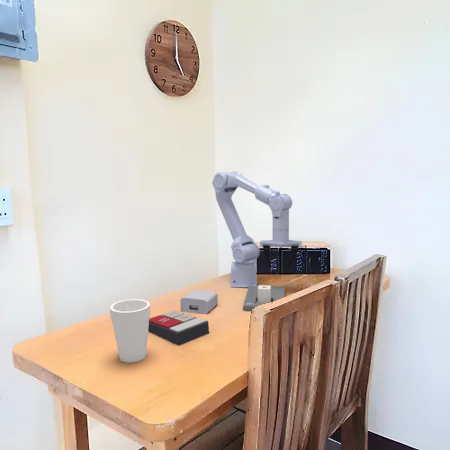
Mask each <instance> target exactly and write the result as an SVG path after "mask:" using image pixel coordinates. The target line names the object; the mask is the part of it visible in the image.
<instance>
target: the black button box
mask: <svg viewBox="0 0 450 450" xmlns="http://www.w3.org/2000/svg"><path fill="white" fill-rule="evenodd" d="M209 328H210V327H209V321H208V320H207V319H204V318H201V317H200V318H199V317H197V316H195V315H192V314H189V313H185V312H183V311H178V310H171V311H168V312H164V313H162V314H160V315H155V316H153V317H149V327H148V333H151V334H152V335H155V336H157V337H159V338H162V339H165V340H167V341H168V342H170V343H172V344H174V345H176V346H182V345H184V344H186V343H187V344H188V343H189V342H192V341H194V340H197V339H198V338H201V337H204V336H206V335H208V334H210V329H209Z"/></svg>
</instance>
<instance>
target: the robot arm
mask: <svg viewBox="0 0 450 450" xmlns="http://www.w3.org/2000/svg"><path fill="white" fill-rule="evenodd" d="M211 184H212V186H213V189H214V192H215V199H216V203H217V204H218V207H219V209H220V212H221V214H222V216H223V219H224V221H225V223H226V225H227V229H228V230H229V233H230V235H231V238H232V240H233V241H232V243H231V245H230V248H231V251H232V257H233V260H234V261H231V266H230V282H231V283H230V287H231V288H248V287H249V286H258V283H259V281H258V280H257V267H256V266H257V259H258V258H259V256H260V248H262V251H263V252H264V255H265V257H266V260H267V264H268V268H271V267H272V262H271V248H272V247H273V248H275V247H277V248H278V247H279V248H281V247H282V248H283V247H284V248H288V247H289V248H290V251H291V252H290V255H291V256H290V268H293V267H294V262H295V258H296V256H297V254H298V252H299V248H302V243H303V242H302V240H293V239H292V240H290V209H291V208H292V206H293V199H292V197H291V196H290V195H288V194H287V193H280V191H279V190H274V189H273V188H270V185H269V184H261V185H258V184H257V183H255V182H253V180H250V179H248V178H247V177H245V176H244V175H243V174H242V173H238V171H228V172H227V171H225V172H222V171H219V172H216V173H215V174H214V176H213V179H212V183H211ZM238 188H241V189H243V190H246V191H247V192H249V193H251V194H254V197H255V199H256V200H257V201H260V202H261V203H263V204H265V205H267V206H268V208H269V209H270V210H271V215H272V228H271V229H272V239H269V240H265V239H264V240H259V246H258V244H257V243H256V242H255V241H254V239H253V238H252V237H251V236H249V234H247V232H246V229H245V227H244V225H243V223H242V220H241V218H240V216H239V213H238V211H237V208H236V206H235V204H234V202H233V200H232V197H233V195H234V194H235V192H236V191H237V189H238Z"/></svg>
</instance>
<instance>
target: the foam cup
mask: <svg viewBox="0 0 450 450" xmlns="http://www.w3.org/2000/svg"><path fill="white" fill-rule="evenodd" d="M109 315H110V319H111V322H112V328H113V333H114V338H115V342H116V343H115V344H116V347H117V352H118V357H119V360H120V361H121V362H123V363H127V364H128V363H131V364H133V363H137V362H140V361H142V360H144V359H145V358H146V357H147V350H148V337H149V332H148V327H149V319H150V316H151V304H150V301H147V300H145V299H139V298H132V299H131V298H129V299H123V300H119V301H117V302H114V303H113V304H111V305H110V307H109Z"/></svg>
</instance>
